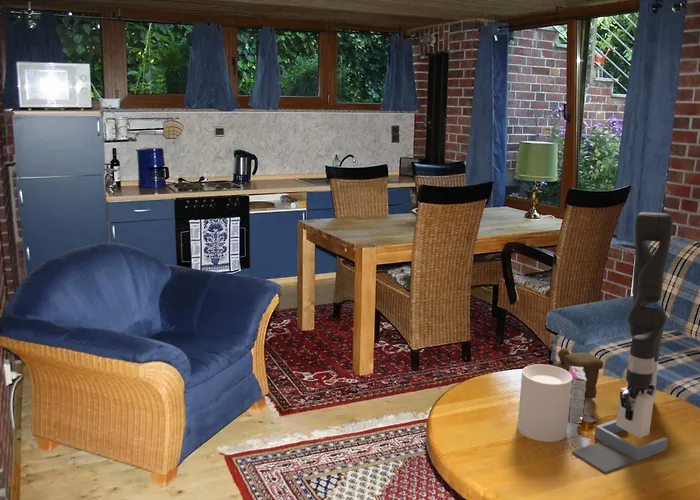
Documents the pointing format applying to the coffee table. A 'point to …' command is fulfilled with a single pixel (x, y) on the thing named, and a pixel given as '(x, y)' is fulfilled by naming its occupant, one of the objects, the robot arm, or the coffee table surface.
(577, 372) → the candy bar box
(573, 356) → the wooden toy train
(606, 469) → the rubber pad
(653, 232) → the robot arm
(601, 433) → the frame
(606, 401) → the coffee table surface
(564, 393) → the canister
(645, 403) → the packed carton
